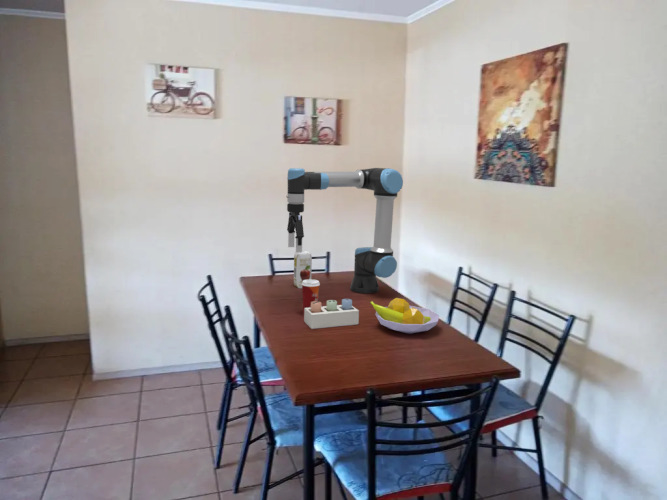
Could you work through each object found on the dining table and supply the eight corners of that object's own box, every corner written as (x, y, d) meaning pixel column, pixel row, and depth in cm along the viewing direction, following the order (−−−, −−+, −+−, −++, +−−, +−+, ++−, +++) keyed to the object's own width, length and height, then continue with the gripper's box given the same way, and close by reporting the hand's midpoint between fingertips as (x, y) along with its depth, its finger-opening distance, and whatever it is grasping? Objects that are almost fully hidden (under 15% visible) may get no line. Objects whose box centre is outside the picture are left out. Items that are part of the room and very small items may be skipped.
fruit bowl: (440, 321, 225) (441, 296, 223) (435, 342, 199) (437, 314, 197) (377, 314, 232) (378, 290, 230) (364, 333, 206) (365, 306, 204)
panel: (349, 317, 227) (349, 304, 226) (358, 324, 218) (358, 310, 217) (304, 321, 219) (304, 307, 218) (311, 328, 210) (311, 314, 209)
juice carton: (292, 285, 278) (293, 251, 275) (307, 284, 282) (307, 250, 278) (297, 289, 271) (298, 253, 268) (312, 287, 275) (313, 253, 272)
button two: (334, 313, 221) (334, 299, 219) (338, 316, 217) (338, 301, 215) (324, 313, 219) (325, 299, 218) (328, 316, 215) (328, 302, 214)
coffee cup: (316, 317, 226) (317, 284, 223) (298, 315, 227) (299, 282, 225) (321, 311, 234) (321, 279, 231) (303, 309, 235) (304, 278, 233)
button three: (319, 314, 218) (319, 300, 217) (322, 317, 214) (322, 303, 213) (309, 315, 217) (309, 301, 215) (312, 318, 212) (312, 304, 211)
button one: (349, 311, 223) (349, 297, 222) (353, 314, 219) (353, 300, 218) (339, 312, 222) (340, 298, 220) (343, 315, 218) (344, 301, 216)
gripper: (281, 200, 240) (280, 245, 244) (294, 206, 217) (293, 255, 221) (296, 200, 242) (295, 244, 246) (311, 205, 219) (310, 254, 223)
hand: (295, 249), depth 233 cm, fingers open, 13 cm apart
